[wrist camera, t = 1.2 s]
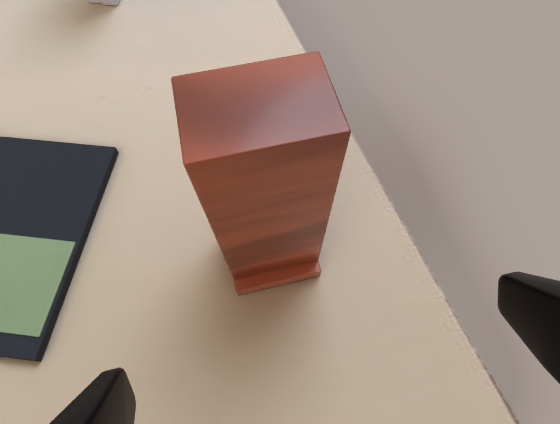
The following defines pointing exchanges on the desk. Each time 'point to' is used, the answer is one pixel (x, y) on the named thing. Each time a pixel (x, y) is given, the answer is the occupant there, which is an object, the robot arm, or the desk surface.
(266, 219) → the reddish brown square pillar
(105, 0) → the walkman
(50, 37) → the desk surface
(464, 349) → the desk surface
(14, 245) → the dark blue mat
